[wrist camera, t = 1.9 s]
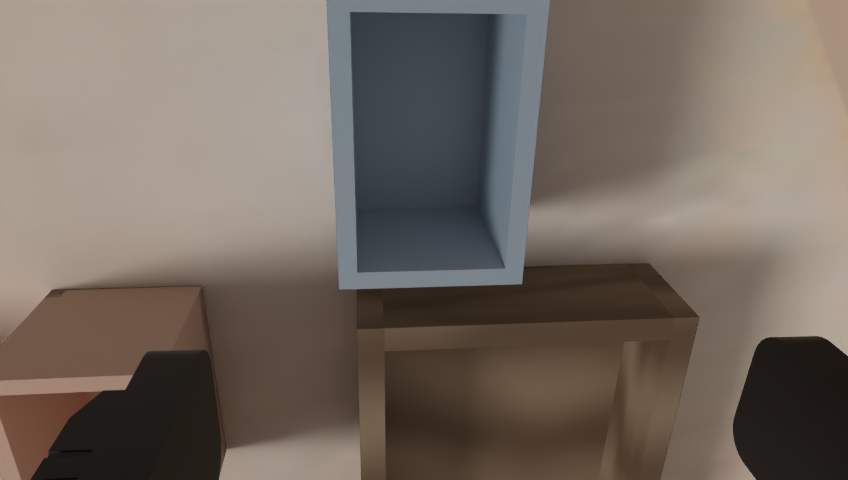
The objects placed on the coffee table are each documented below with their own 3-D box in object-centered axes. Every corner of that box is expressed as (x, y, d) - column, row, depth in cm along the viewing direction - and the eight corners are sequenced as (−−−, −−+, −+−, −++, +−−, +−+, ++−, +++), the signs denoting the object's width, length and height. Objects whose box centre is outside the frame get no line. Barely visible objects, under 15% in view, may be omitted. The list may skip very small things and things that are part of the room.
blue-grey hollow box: (334, -22, 21) (325, -14, 16) (503, -18, 22) (550, -9, 17) (343, 217, 25) (338, 289, 20) (487, 214, 26) (522, 284, 20)
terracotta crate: (51, 290, 25) (-33, 382, 20) (201, 286, 26) (160, 373, 20) (96, 456, 29) (35, 572, 24) (226, 449, 30) (196, 560, 24)
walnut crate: (357, 271, 26) (356, 329, 22) (649, 263, 28) (699, 317, 23) (364, 535, 33) (365, 617, 29) (599, 519, 34) (631, 595, 30)
